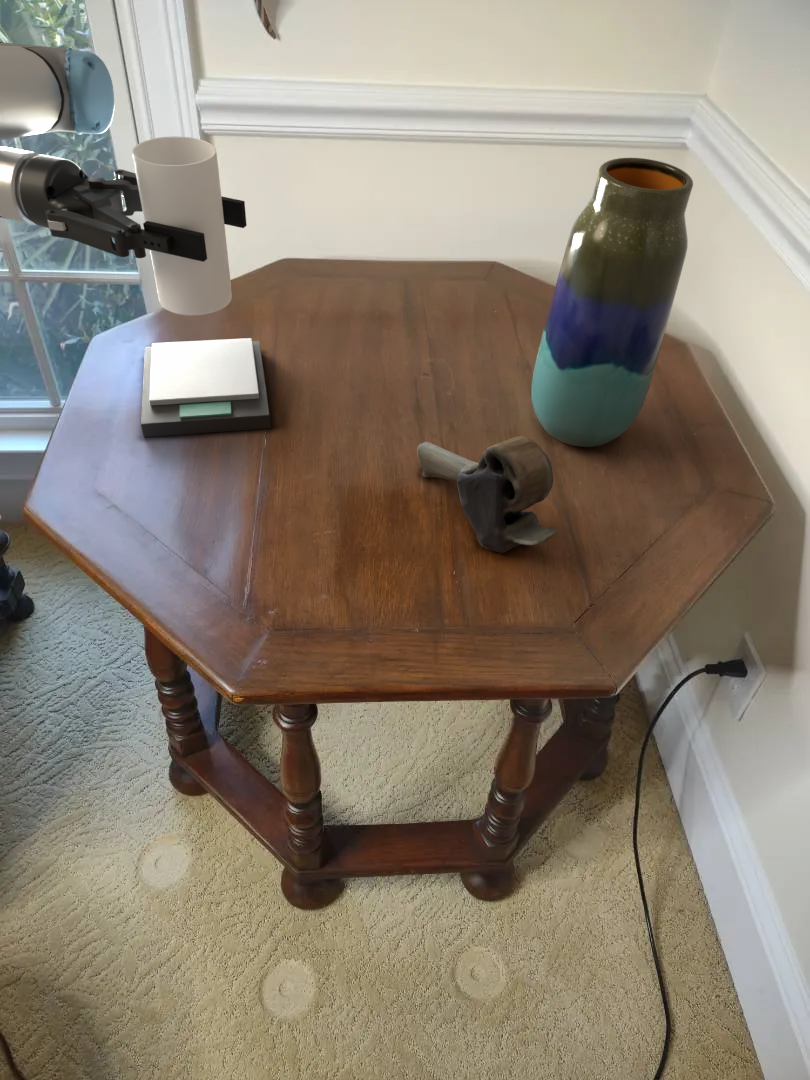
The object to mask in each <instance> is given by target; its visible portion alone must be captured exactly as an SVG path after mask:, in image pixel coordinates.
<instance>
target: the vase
mask: <svg viewBox="0 0 810 1080" xmlns="http://www.w3.org/2000/svg"><path fill="white" fill-rule="evenodd" d="M693 188H694V180H693V178H692V177H691V176H690V175H689V174H688V173H687V172H686V171H685V170H684V169H681V168H679V167H677V166H675V165H673V164H669V163H666V162H663V161H661V160H660V161H659V160H655V159H649V158H644V157H643V158H641V157H619V158H613V159H610V160H607V161H605V162H603V163H602V164H601V165H600V167H599V168H598V172H597V177H596V179H595V184H594V188H593V191H592V196H591V197H590V199H589V201H588V202H587V204H585V206H584V208H583V209H582V210H581V211H580V213H579V215H578V216H577V217H576V219H575V220H574V222H573V224H572V226H571V229H570V233H569V236H568V240H567V243H566V247H565V250H564V252H563V253H564V254H563V257H562V261H561V265H560V269H559V273H558V276H557V279H556V283H555V286H554V290H553V294H552V298H551V302H550V305H549V309H548V312H547V315H546V319H545V324H544V327H543V331H542V335H541V339H540V342H539V345H538V350H537V353H536V358H535V361H534V365H533V370H532V376H531V383H530V400H531V406H532V409H533V412H534V414H535V416H536V419H537V420H538V422H539V424H540V426H541V427H542V428H543V429H544V431H545V432H546V433H547V434H548V435H549V436H550V437H552V438H554V439H555V440H557V441H559V442H561V443H563V444H566V445H569V446H573V447H578V448H595V447H601V446H603V445H605V444H609V443H610V442H612V441H613V440H614V441H615V440H616V439H617V438H619V437H620V436H621V435H623V434H624V433H625V432H626V431H627V430H629V428H631V426H632V425H633V424H634V422H635V421H636V420H637V418H638V417H639V414H640V412H641V410H642V408H643V406H644V403H645V401H646V398H647V395H648V392H649V390H650V386H651V382H652V379H653V376H654V373H655V371H656V370H655V369H656V365H657V363H658V359H659V355H660V352H661V348H662V344H663V341H664V337H665V333H666V331H667V326H668V323H669V319H670V315H671V312H672V308H673V304H674V302H675V297H676V294H677V289H678V286H679V283H680V280H681V276H682V271H683V268H684V265H685V260H686V257H687V252H688V242H689V241H688V239H689V238H688V231H687V224H686V211H687V207H688V205H689V200H690V197H691V194H692V190H693Z"/></svg>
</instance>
